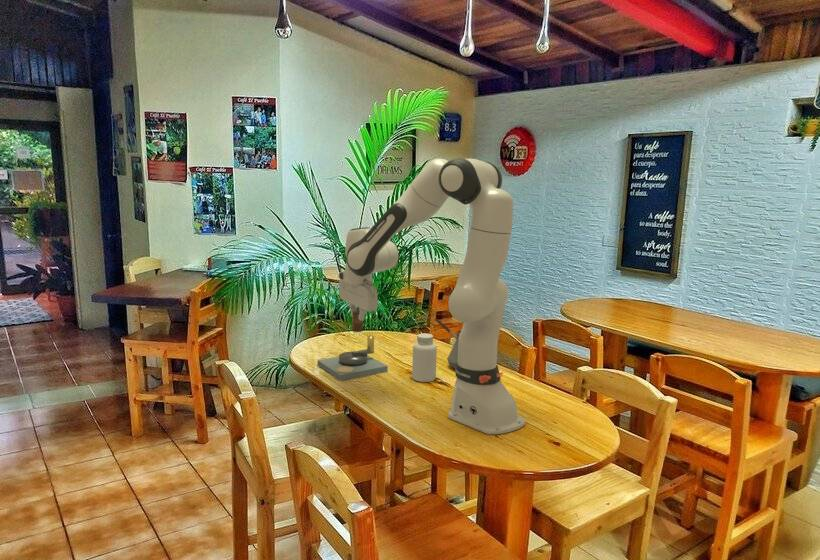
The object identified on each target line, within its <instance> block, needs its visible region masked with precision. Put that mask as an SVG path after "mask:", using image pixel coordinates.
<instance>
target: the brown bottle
mask: <svg viewBox="0 0 820 560" xmlns="http://www.w3.org/2000/svg"><path fill="white" fill-rule="evenodd" d="M359 313H360V310H359V307H357V306H356V310H355V312H353V317H352V320H351V321H352V323H351V324H352V326H351V327H352V329H351V330H352V332H354V333H361V332H363V329H364V321H360V320H358V315H359Z"/></svg>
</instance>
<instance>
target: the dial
mask: <svg viewBox="0 0 820 560" xmlns="http://www.w3.org/2000/svg"><path fill="white" fill-rule="evenodd" d="M366 337H367V338H366V339H367V340H366V341H367V342H366V343H367V344H366V345H367V346H366V347H367V348H366V349H360V350H355V351H354V350H353V351H345V352H342V353H340V354H339V355H338V356H339V363H340V364H343V365H347V366H358V365H363V364H366V363H367V361H368V356H369V354H370V355H372V354H375V336H374V335H367V336H366Z"/></svg>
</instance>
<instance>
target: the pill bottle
mask: <svg viewBox="0 0 820 560" xmlns="http://www.w3.org/2000/svg"><path fill="white" fill-rule="evenodd" d="M416 340H417V341H416V342H415V343H414V344H413V346H412V362H411V363H412V369H411V371H412V372H411V375H412V376H411V378H412V379H413V380H414V381H417V382H421V383H428V382H429V383H430V382H433V381H435V380H436V377H437V374H436V373H437V354H438V347H437V345H436V343H434V334H431V333H425V332H422V333H418V334H417V336H416Z"/></svg>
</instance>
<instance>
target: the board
mask: <svg viewBox="0 0 820 560" xmlns="http://www.w3.org/2000/svg"><path fill="white" fill-rule="evenodd" d="M317 366H318V367H319V368H321V369H322V370H324V371H325V372H326V373H328V374H329V375H331V376H333V377H334V378H335V379H337V380H339V381H340V382H342V381H343V382H344V381H348V380H353V379H358V378H362V377H367V376H372V375H376V374H382V373H387V372H388V369H389V367H388V365H387V364H384V363H383V362H381V361H379V360H378V359H376V358H373V356H370V355H368V361H367V363H366V364H363V365H358V366H347V365H343V364H340V363H339V355H337V356H333V357H327V358H322V359H317Z"/></svg>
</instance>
